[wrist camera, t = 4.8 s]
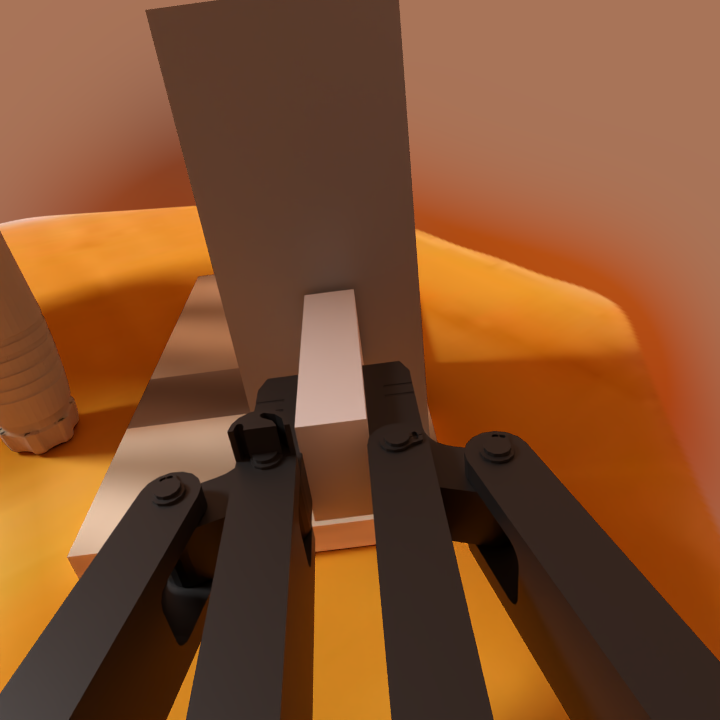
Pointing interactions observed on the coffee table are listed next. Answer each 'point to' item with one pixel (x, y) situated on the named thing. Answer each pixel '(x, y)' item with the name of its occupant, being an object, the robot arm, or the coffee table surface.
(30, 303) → the handle
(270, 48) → the tall rectangular block
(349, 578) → the coffee table surface
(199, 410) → the subfloor panel
